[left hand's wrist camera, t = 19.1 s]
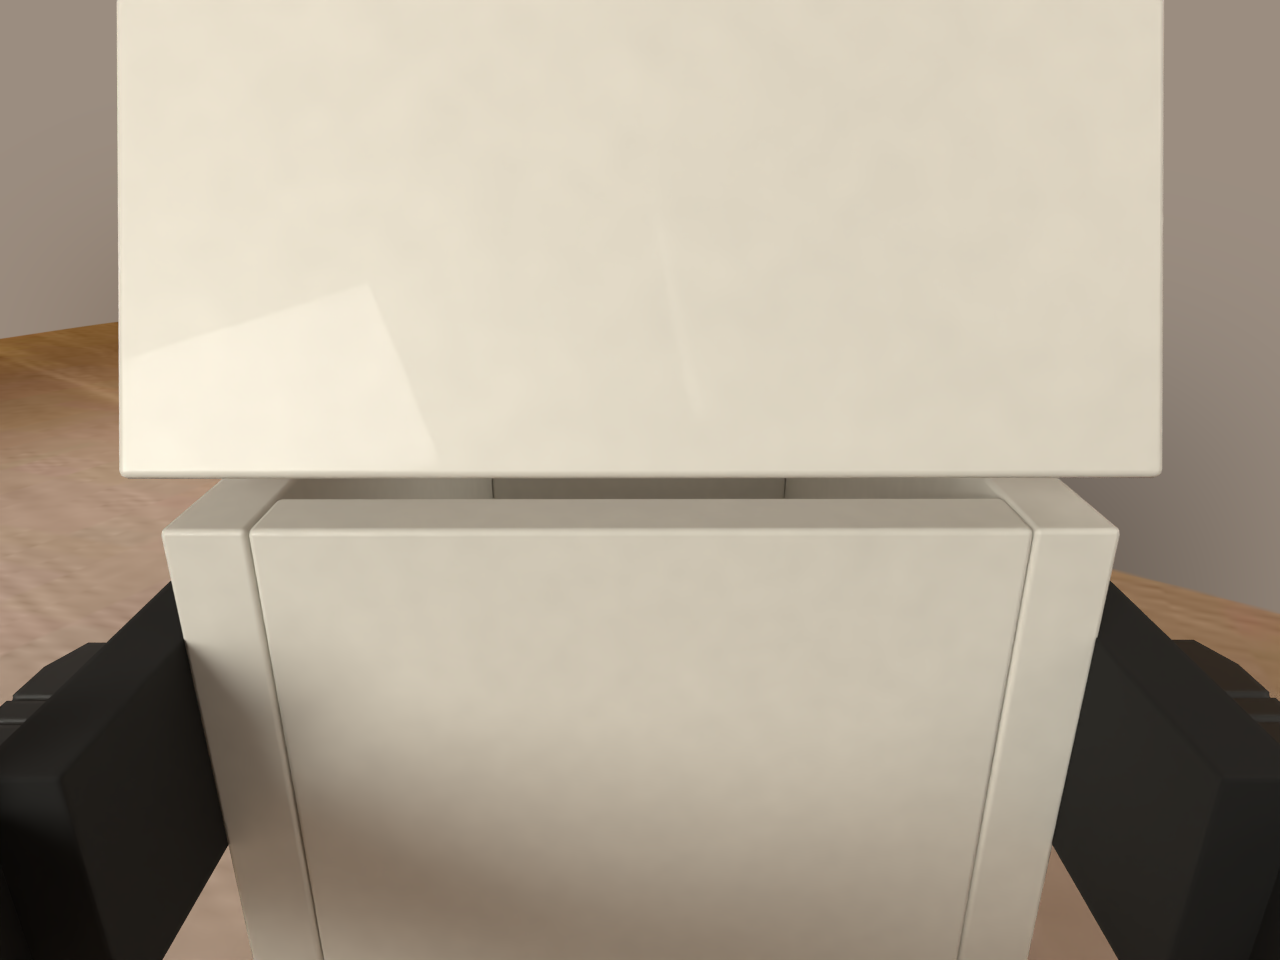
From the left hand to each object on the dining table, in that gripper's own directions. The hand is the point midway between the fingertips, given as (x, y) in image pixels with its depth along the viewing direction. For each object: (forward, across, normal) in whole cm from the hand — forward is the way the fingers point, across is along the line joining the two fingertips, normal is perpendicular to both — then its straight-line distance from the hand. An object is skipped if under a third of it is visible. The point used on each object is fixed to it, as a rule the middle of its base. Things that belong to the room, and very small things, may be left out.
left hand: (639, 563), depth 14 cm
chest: (+3, 0, -6) cm, 7 cm away
